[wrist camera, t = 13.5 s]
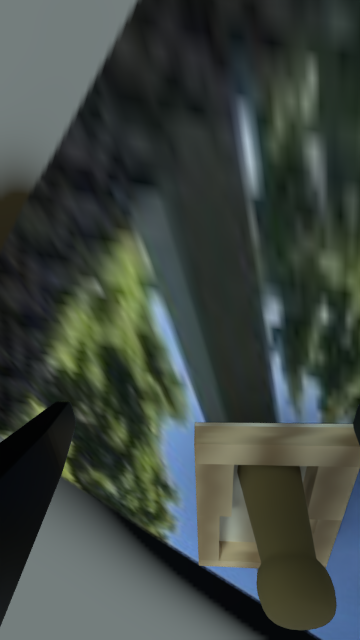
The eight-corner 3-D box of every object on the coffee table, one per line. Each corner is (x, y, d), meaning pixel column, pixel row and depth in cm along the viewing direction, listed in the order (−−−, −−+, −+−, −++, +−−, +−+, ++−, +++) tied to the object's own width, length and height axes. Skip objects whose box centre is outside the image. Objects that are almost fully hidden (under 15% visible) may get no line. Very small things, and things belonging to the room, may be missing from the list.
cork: (275, 496, 31) (310, 649, 21) (225, 476, 30) (237, 626, 20) (313, 464, 28) (373, 620, 19) (260, 440, 27) (293, 592, 18)
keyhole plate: (353, 424, 26) (366, 446, 24) (317, 546, 35) (324, 571, 33) (194, 422, 27) (194, 444, 25) (199, 542, 36) (199, 565, 34)
